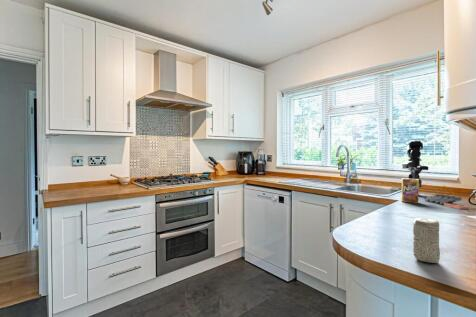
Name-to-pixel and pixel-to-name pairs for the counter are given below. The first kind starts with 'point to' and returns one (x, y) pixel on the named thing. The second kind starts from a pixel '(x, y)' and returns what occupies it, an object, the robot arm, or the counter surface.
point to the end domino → (456, 205)
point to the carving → (426, 240)
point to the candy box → (410, 190)
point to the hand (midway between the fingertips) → (414, 179)
